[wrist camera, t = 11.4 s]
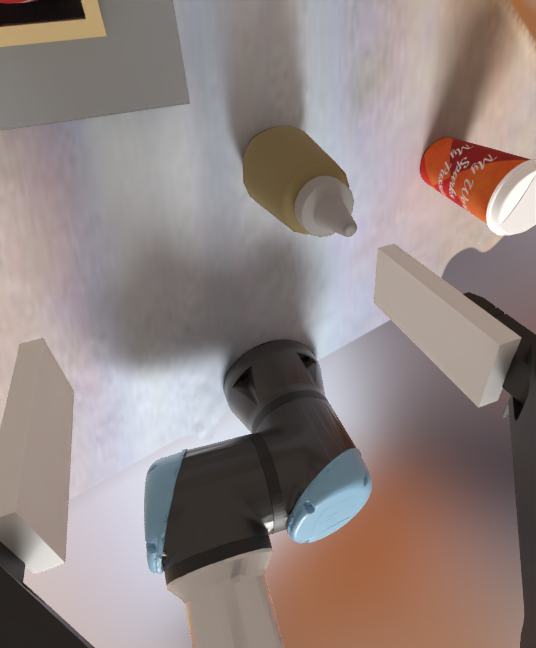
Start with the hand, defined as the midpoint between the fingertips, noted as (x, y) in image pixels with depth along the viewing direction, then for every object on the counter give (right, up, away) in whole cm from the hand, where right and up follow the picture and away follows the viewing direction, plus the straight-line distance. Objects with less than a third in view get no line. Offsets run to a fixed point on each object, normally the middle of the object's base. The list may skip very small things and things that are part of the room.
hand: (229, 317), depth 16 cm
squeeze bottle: (+2, +17, +27) cm, 32 cm away
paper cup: (+23, +20, +35) cm, 46 cm away
